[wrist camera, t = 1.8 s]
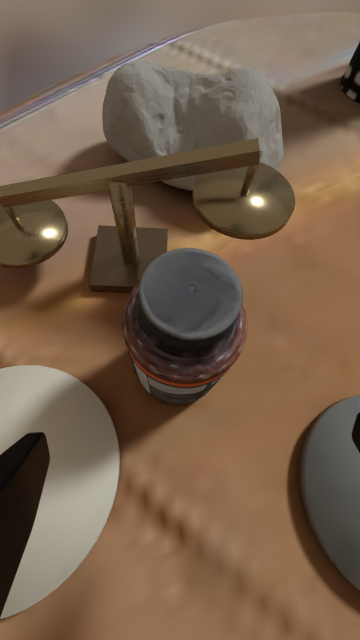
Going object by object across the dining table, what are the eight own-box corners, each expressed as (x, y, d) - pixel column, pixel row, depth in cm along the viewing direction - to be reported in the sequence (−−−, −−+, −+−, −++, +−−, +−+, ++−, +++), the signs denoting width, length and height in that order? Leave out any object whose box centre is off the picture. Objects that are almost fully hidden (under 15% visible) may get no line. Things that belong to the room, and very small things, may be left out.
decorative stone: (292, 130, 29) (318, 52, 19) (259, 226, 31) (268, 199, 21) (139, 98, 32) (95, 16, 22) (118, 188, 34) (68, 149, 24)
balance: (259, 299, 23) (332, 192, 14) (-10, 289, 22) (-147, 163, 12) (251, 239, 26) (308, 111, 16) (11, 227, 25) (-89, 81, 15)
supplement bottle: (154, 317, 22) (150, 207, 12) (226, 343, 22) (285, 252, 11) (122, 388, 20) (81, 327, 10) (201, 420, 19) (249, 391, 9)
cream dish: (108, 609, 15) (105, 620, 14) (-149, 616, 14) (-170, 627, 13) (128, 370, 20) (127, 367, 19) (-59, 366, 20) (-69, 362, 19)
